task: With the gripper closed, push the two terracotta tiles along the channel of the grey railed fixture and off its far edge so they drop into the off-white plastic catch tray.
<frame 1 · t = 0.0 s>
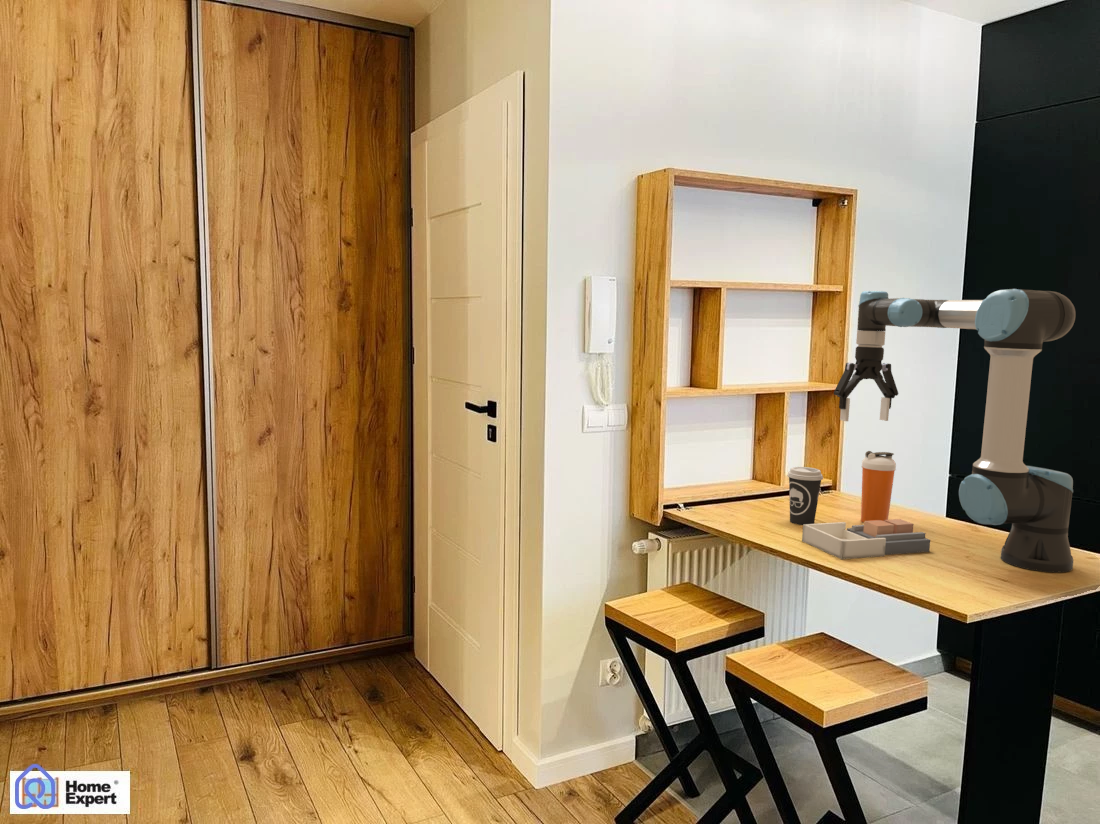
hand: (864, 420, 243), 28 cm above the table, fingers open, 13 cm apart
tile 2: (897, 533, 217), point 3 cm above the table, touching grey railed fixture
catch tray: (842, 548, 212), on the table
shaker bottle: (874, 523, 240), on the table
tile 1: (878, 534, 215), point 3 cm above the table, touching grey railed fixture
coffee cup: (801, 523, 237), on the table
grey railed fixture: (886, 545, 216), on the table
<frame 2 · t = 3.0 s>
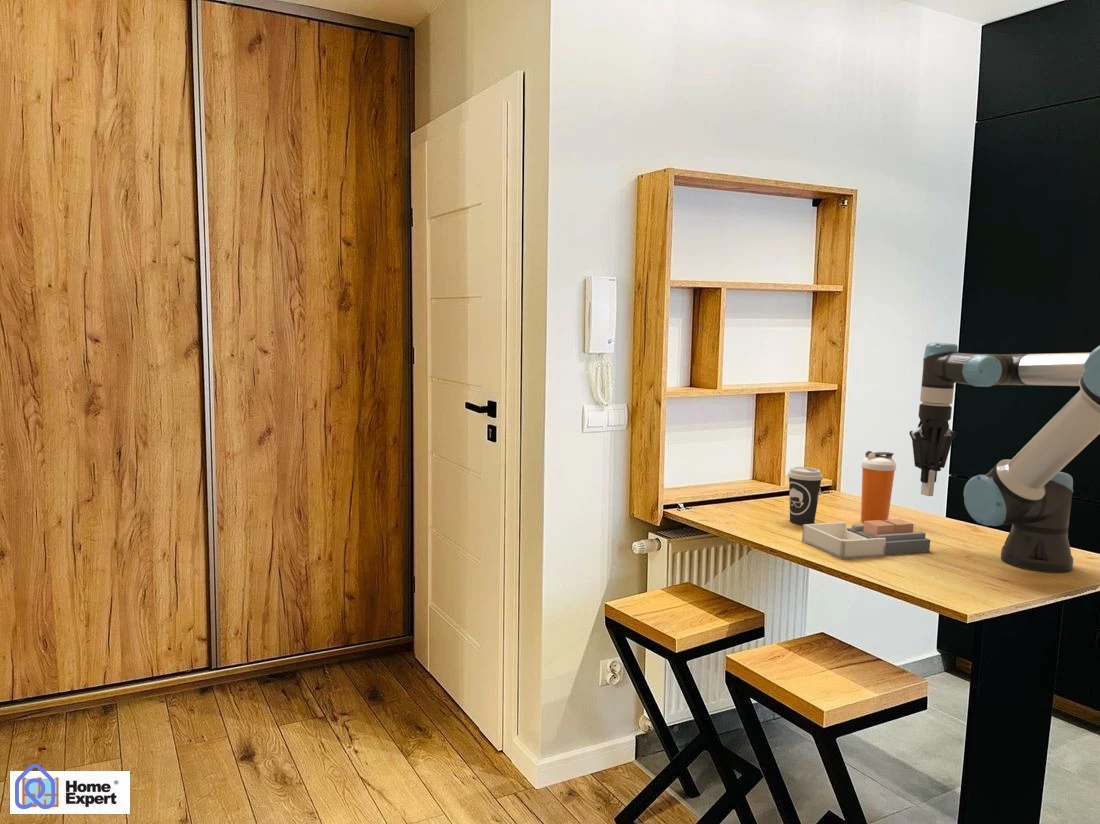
hand: (926, 494, 219), 13 cm above the table, fingers closed
nothing on the table moved.
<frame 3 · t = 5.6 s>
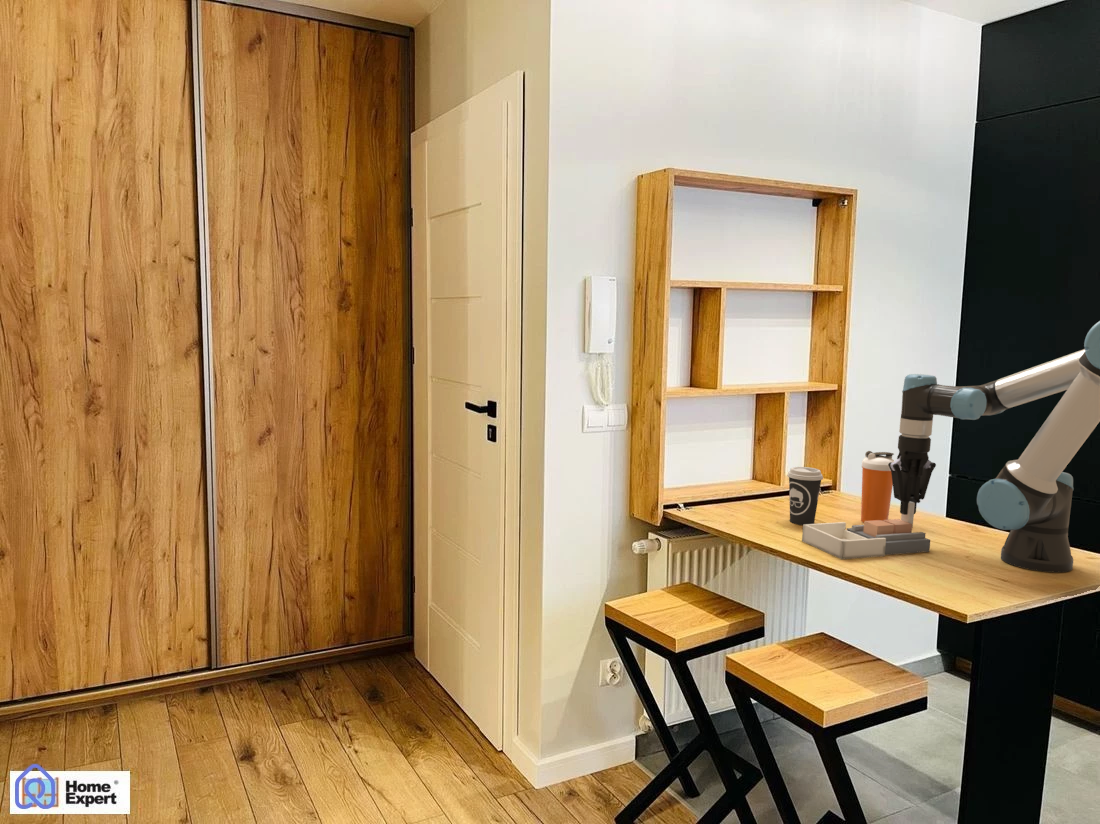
hand: (906, 526, 218), 5 cm above the table, fingers closed
tile 2: (896, 533, 217), point 3 cm above the table, touching gripper, grey railed fixture
everything else where it was.
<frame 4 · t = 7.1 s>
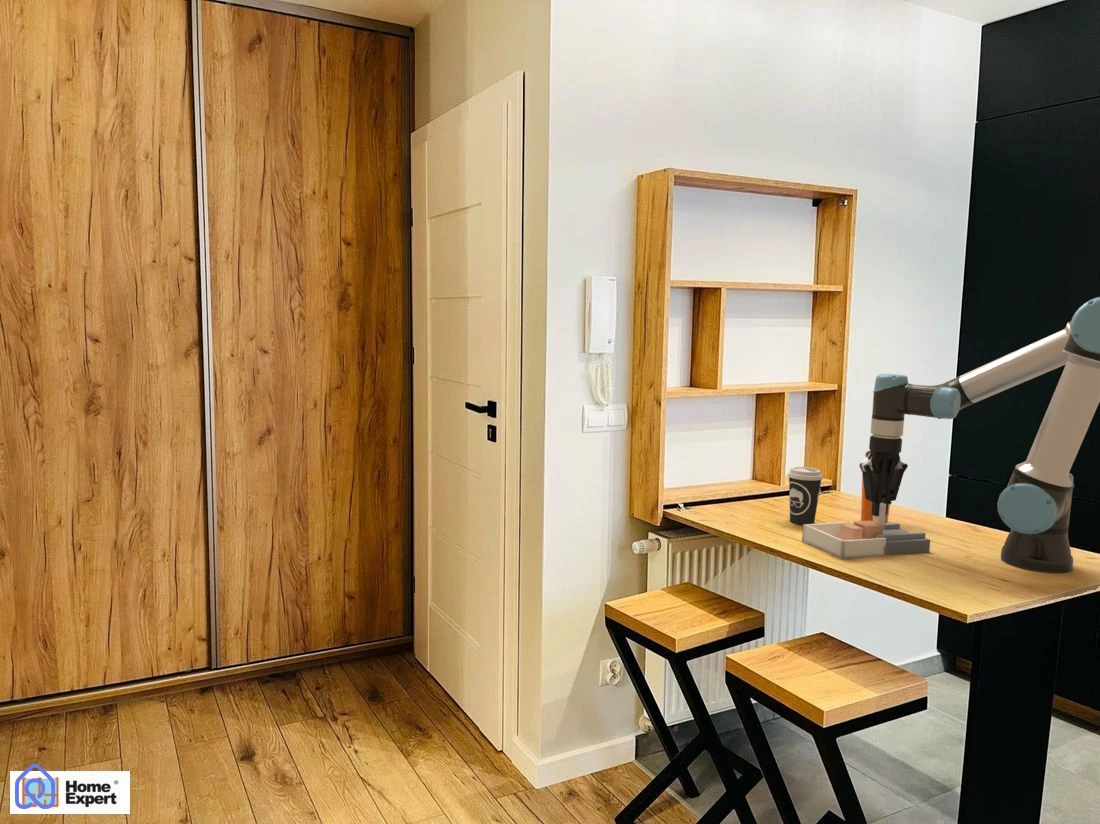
hand: (878, 528, 215), 5 cm above the table, fingers closed
tile 2: (867, 535, 214), point 3 cm above the table, touching gripper
tile 1: (855, 535, 213), point 3 cm above the table, tilted 90°, touching catch tray
everything else where it was.
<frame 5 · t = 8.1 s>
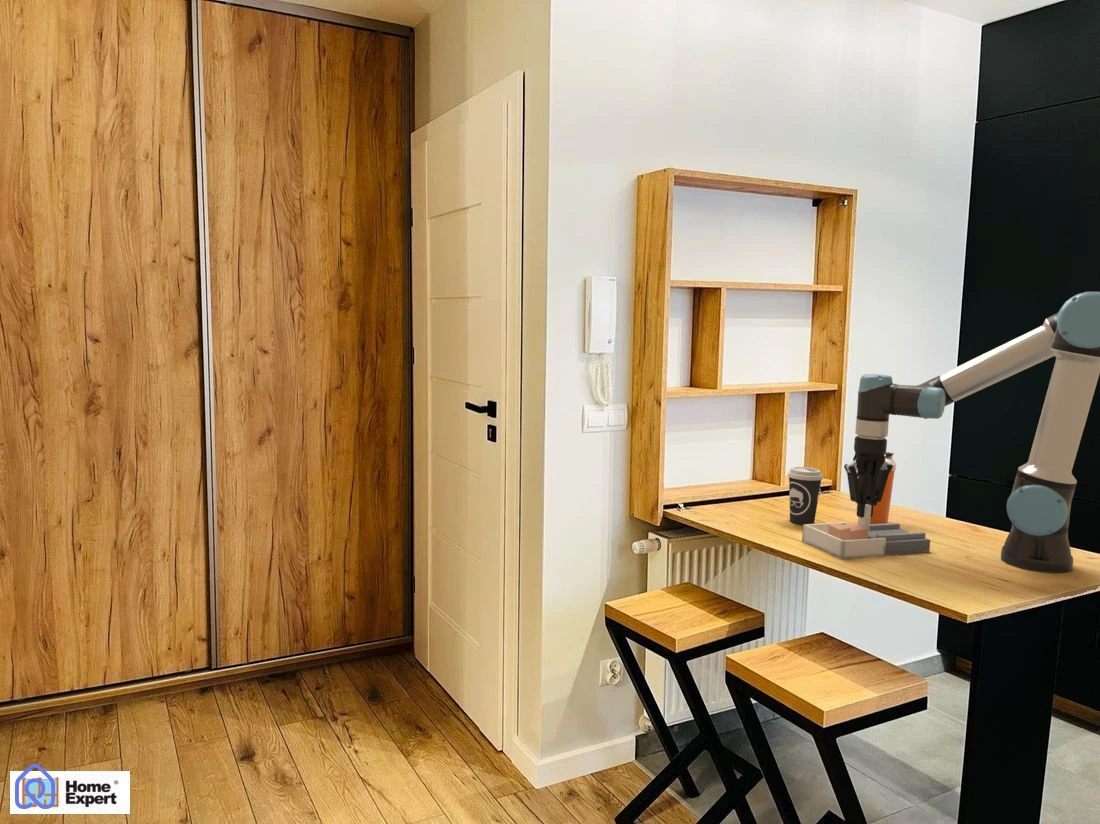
hand: (863, 529, 214), 5 cm above the table, fingers closed
tile 2: (853, 538, 213), point 2 cm above the table, tilted 7°, touching gripper, tile 1
tile 1: (844, 535, 212), point 3 cm above the table, tilted 97°, touching tile 2
everything else where it was.
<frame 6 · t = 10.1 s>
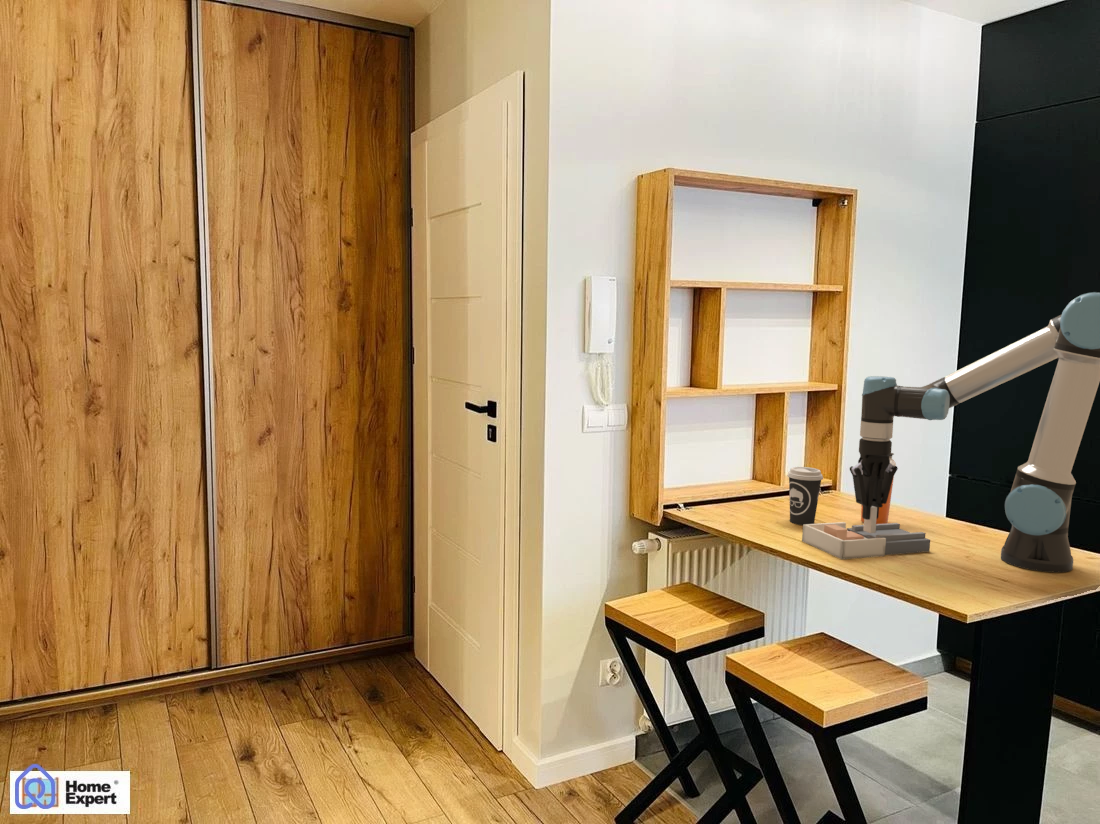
hand: (869, 531, 214), 4 cm above the table, fingers closed
tile 2: (848, 545, 212), point 1 cm above the table, touching catch tray
tile 1: (840, 536, 211), point 3 cm above the table, tilted 90°, touching catch tray
everything else where it was.
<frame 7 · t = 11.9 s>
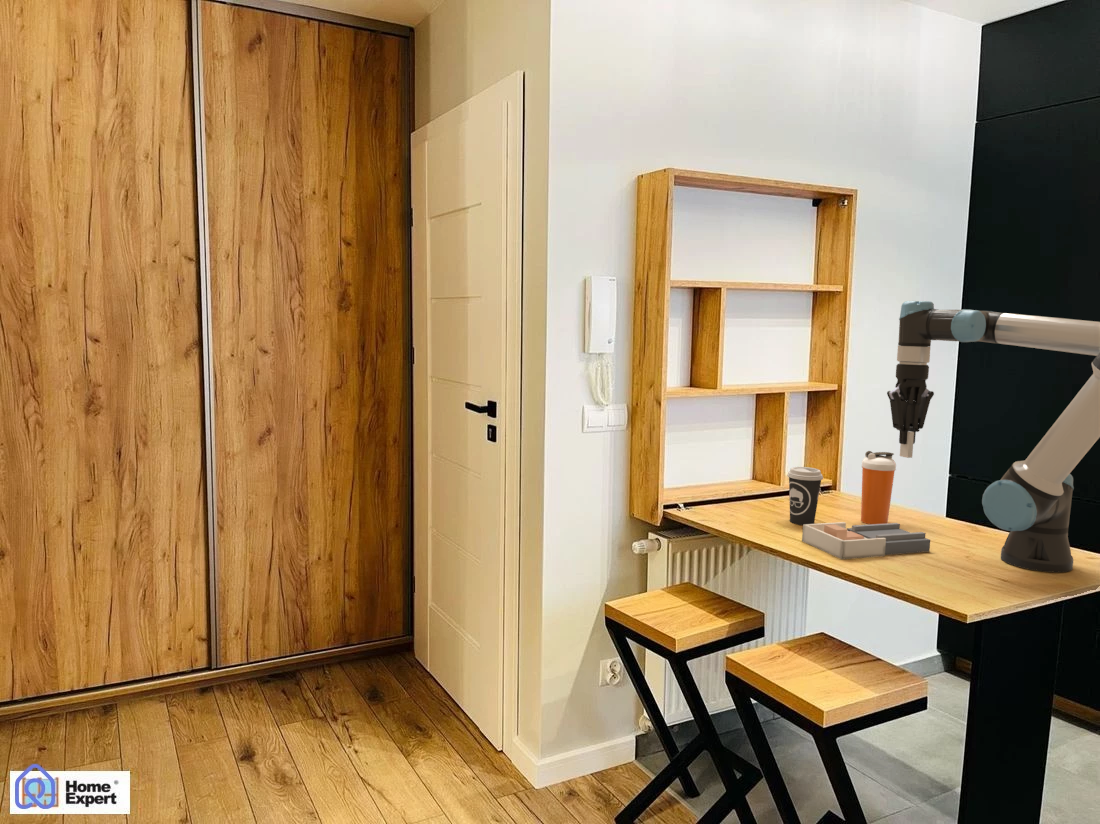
hand: (905, 456, 215), 23 cm above the table, fingers closed
nothing on the table moved.
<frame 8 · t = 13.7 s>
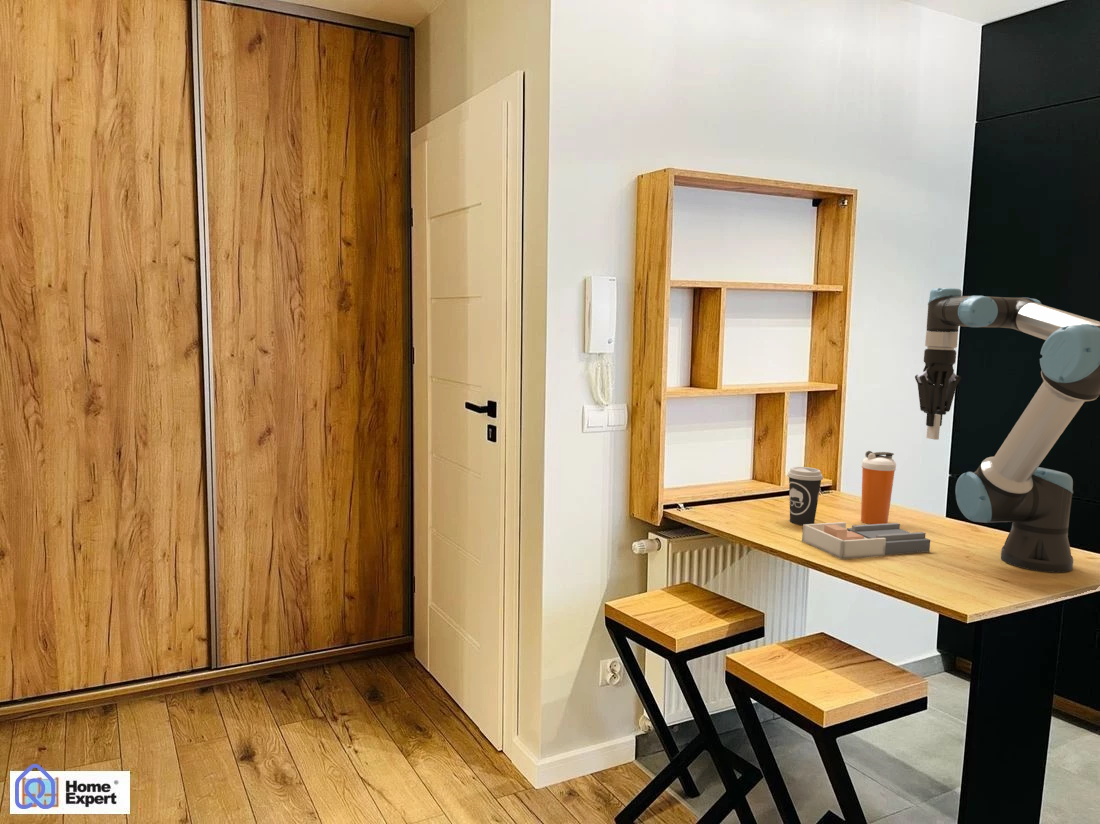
hand: (932, 438, 223), 26 cm above the table, fingers closed
nothing on the table moved.
at the end: tile 1 inside the target area (0.3 cm from its centre), point 3.1 cm above the table; tile 2 inside the target area (2.9 cm from its centre), point 0.6 cm above the table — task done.
